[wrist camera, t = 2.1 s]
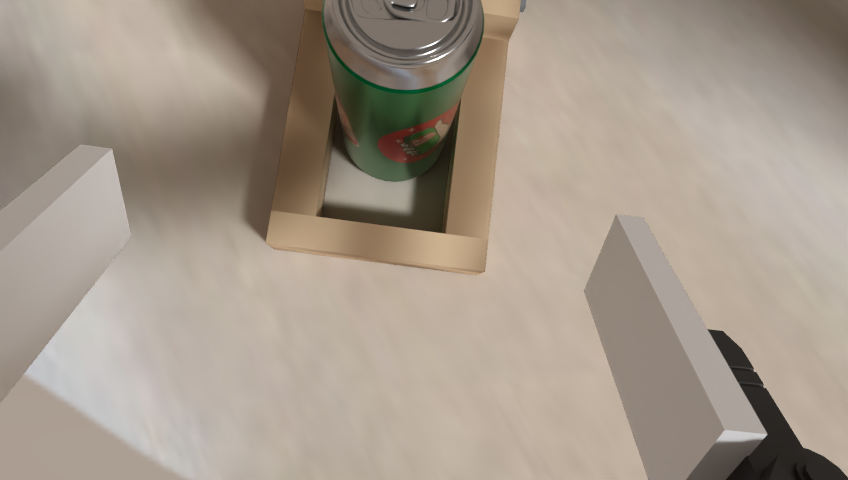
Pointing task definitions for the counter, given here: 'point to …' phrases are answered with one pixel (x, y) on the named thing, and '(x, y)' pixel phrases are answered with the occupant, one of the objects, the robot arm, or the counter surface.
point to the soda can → (399, 77)
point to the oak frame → (468, 170)
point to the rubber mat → (522, 5)
